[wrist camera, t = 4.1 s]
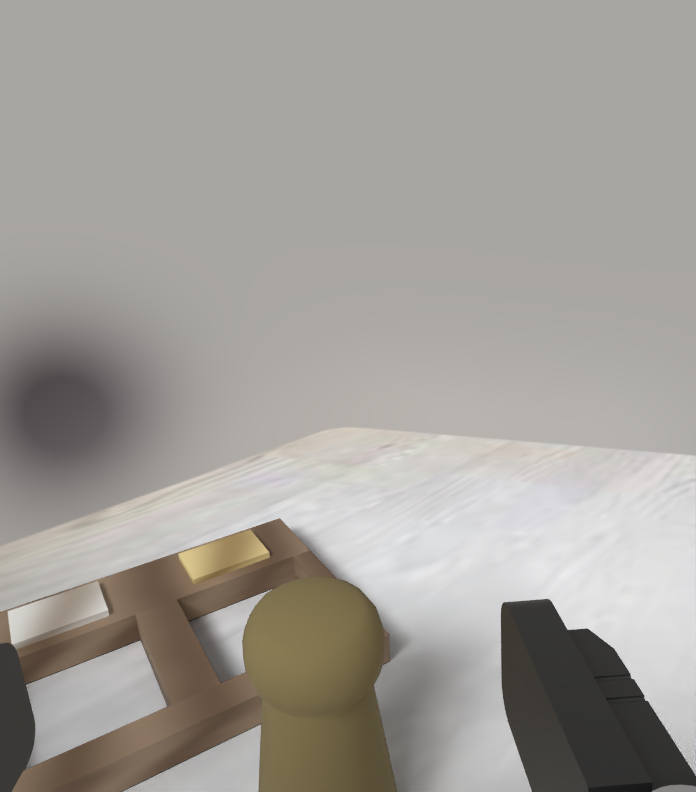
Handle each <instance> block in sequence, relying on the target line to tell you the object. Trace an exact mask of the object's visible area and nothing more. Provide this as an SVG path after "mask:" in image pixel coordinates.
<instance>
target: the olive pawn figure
mask: <svg viewBox="0 0 696 792" xmlns="http://www.w3.org/2000/svg"><path fill="white" fill-rule="evenodd" d="M242 642H243V658H244V665H245V671H246V673H247V675H248V677H249V678H250V680H251V682H252V684H253V686H254V688H255V690H256V692H257V693H258V695H259V697H261V698H262V717H261V743H260V768H259V792H397V790H396V785H395V781H394V776H393V772H392V767H391V762H390V758H389V753H388V749H387V744H386V739H385V735H384V730H383V725H382V721H381V716H380V712H379V707H378V702H377V698H376V693H375V688H374V683H375V682H376V680H377V678H378V676H379V674H380V671H381V668H382V664H383V659H384V649H385V632H384V629H383V626H382V623H381V620H380V618H379V615H378V612H377V609H376V607H375V605H374V604H373V603H372V602H371V601H370V600H369V599H368V598H367V597H366V595H365V594H364V593H363V592H362V591H361V590H360V589H359V588H357V587H355V586H354V585H352V584H350V583H348V582H346V581H343V580H339V579H335V578H331V577H308V578H301V579H295V580H293V581H290V582H287V583H285V584H282V585H279V586H278V587H276V588H275V589H273V590H271V591H270V592H268V593H267V594H265V596H264V597H263V598H262V599H261V600H260V601H259V602H258V603H257V605H256V606H255V607H254V609H253V611H252V612H251V614H250V616H249V619H248V621H247V624H246V626H245V629H244V635H243V641H242Z"/></svg>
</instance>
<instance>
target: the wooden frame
mask: <svg viewBox="0 0 696 792" xmlns="http://www.w3.org/2000/svg"><path fill="white" fill-rule="evenodd" d="M308 577H331V578H335V577H334V575H333V574H332V573H331V572H330V571H329V570H328V569H327V568H326V567H325V566H324V565H323V564H322V563H321V562H320V561H319V560H318V558H317V557H316V556H315V555H314V554H313V553H312V552H311V551H310V550H309V549H308V548H307V547H306V546H305V545H304V544H303V542H302V541H301V540H300V539H299V538H298V537H297V536H296V535H295V534H294V533H293V532H292V531H291V530H290V529H289V528H288V527H287V525H286V524H285V523H284V522H283V521H282V520H281V519H280V518H279V519H276V520H273V521H271V522H268V523H265V524H262V525H259V526H256V527H253V528H250V529H247V530H244V531H241V532H238V533H235V534H232V535H229V536H226V537H223V538H220V539H217V540H214V541H211V542H208V543H205V544H202V545H199V546H196V547H193V548H190V549H187V550H184V551H181V552H178V553H175V554H172V555H169V556H166V557H163V558H160V559H157V560H154V561H151V562H149V563H146V564H143V565H140V566H137V567H134V568H131V569H128V570H125V571H122V572H119V573H116V574H113V575H110V576H107V577H104V578H101V579H98V580H95V581H92V582H89V583H86V584H83V585H80V586H77V587H74V588H71V589H68V590H65V591H62V592H59V593H56V594H53V595H50V596H47V597H44V598H41V599H38V600H35V601H32V602H29V603H26V604H24V605H21V606H18V607H15V608H12V609H9V610H6V611H3V612H0V643H11V644H12V645H13V646H14V647H15V649H16V651H17V653H18V656H19V660H20V664H21V668H22V672H23V676H24V680H25V684H28V683H30V682H33V681H36V680H38V679H41V678H43V677H46V676H48V675H51V674H54V673H56V672H59V671H61V670H64V669H66V668H69V667H72V666H74V665H77V664H79V663H82V662H85V661H87V660H90V659H92V658H95V657H97V656H100V655H103V654H105V653H108V652H110V651H113V650H115V649H118V648H121V647H123V646H126V645H128V644H131V643H133V642H136V641H139V640H141V642H142V644H143V647H144V649H145V652H146V654H147V657H148V659H149V662H150V664H151V667H152V669H153V672H154V674H155V677H156V679H157V682H158V684H159V687H160V689H161V692H162V694H163V697H164V699H165V702H166V704H167V707H166V708H164V709H162V710H159V711H157V712H155V713H153V714H150V715H148V716H146V717H143V718H141V719H139V720H137V721H134V722H132V723H130V724H128V725H125V726H123V727H121V728H119V729H116V730H114V731H112V732H110V733H107V734H105V735H103V736H101V737H98V738H96V739H94V740H92V741H89V742H87V743H85V744H82V745H80V746H78V747H76V748H73V749H71V750H69V751H67V752H64V753H62V754H60V755H58V756H55V757H53V758H51V759H49V760H46V761H44V762H42V763H40V764H37V765H35V766H33V767H31V768H28V769H26V770H24V771H23V772H22V774H21V776H20V778H19V779H18V781H17V783H16V785H15V787H14V788H13V790H12V792H121V791H124V790H126V789H128V788H130V787H132V786H134V785H136V784H138V783H140V782H142V781H144V780H146V779H148V778H150V777H152V776H154V775H156V774H158V773H161V772H163V771H165V770H167V769H169V768H171V767H173V766H175V765H177V764H179V763H181V762H183V761H185V760H187V759H189V758H191V757H193V756H195V755H198V754H200V753H202V752H204V751H206V750H208V749H210V748H212V747H214V746H216V745H218V744H220V743H222V742H224V741H226V740H228V739H230V738H232V737H234V736H237V735H239V734H241V733H243V732H245V731H247V730H249V729H251V728H253V727H255V726H257V725H259V724H261V717H262V698H261V697H259V695H258V693H257V692H256V690H255V688H254V686H253V684H252V682H251V680H250V678H249V677H248V675H247V673H246V672H245V673H243V674H241V675H238V676H236V677H234V678H232V679H229V680H227V681H225V682H223V683H220V681H219V679H218V677H217V675H216V673H215V672H214V670H213V668H212V666H211V664H210V662H209V660H208V658H207V656H206V654H205V652H204V651H203V649H202V647H201V645H200V643H199V641H198V639H197V637H196V635H195V633H194V631H193V630H192V628H191V626H190V624H189V622H188V621H190V620H193V619H195V618H198V617H201V616H203V615H206V614H208V613H211V612H213V611H216V610H219V609H221V608H224V607H226V606H229V605H231V604H234V603H237V602H239V601H242V600H244V599H247V598H250V597H252V596H255V595H257V594H260V593H262V592H265V591H268V590H270V589H273V588H275V587H278V586H279V585H282V584H285V583H287V582H290V581H293V580H295V579H301V578H308ZM335 579H336V578H335ZM384 632H385V649H384V659H383V664H384V663H387V662H389V661H390V653H389V634H388V633H387V632H386V631H385V630H384Z"/></svg>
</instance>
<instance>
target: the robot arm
mask: <svg viewBox="0 0 696 792" xmlns="http://www.w3.org/2000/svg"><path fill="white" fill-rule="evenodd" d="M501 664H502V691H503V699H504V705H505V710H506V715H507V719H508V722H509V725H510V728H511V731H512V734H513V737H514V740H515V743H516V746H517V749H518V752H519V755H520V757H521V760H522V763H523V766H524V769H525V772H526V775H527V778H528V781H529V784H530V787H531V790H532V792H696V776H695V774H694V772H693V771H692V769H691V768H690V766H689V765H688V763H687V762H686V760H685V758H684V757H683V755H682V754H681V752H680V751H679V749H678V748H677V746H676V744H675V743H674V741H673V740H672V738H671V737H670V735H669V734H668V732H667V730H666V729H665V727H664V726H663V724H662V723H661V721H660V720H659V718H658V716H657V715H656V713H655V712H654V710H653V709H652V707H651V706H650V704H649V702H648V701H645V699H644V695H643V693H642V691H641V690H640V688H639V687H638V685H637V684H636V682H635V681H634V679H631V676H630V673H629V671H628V670H627V668H626V667H625V665H624V663H623V662H622V660H621V659H620V657H619V656H618V654H617V653H616V651H615V649H614V648H612V647H611V646H610V645H608V644H607V643H606V642H604V641H603V640H602V639H600V638H599V637H598V636H597V635H595V634H594V633H593V632H591V631H590V630H589V629H577V630H567V628H566V627H565V625H564V623H563V621H562V620H561V618H560V616H559V614H558V612H557V611H556V609H555V607H554V605H553V604H552V602H551V601H550V600H549V599H543V600H530V601H517V602H504V603H503V604H502V608H501ZM34 738H35V721H34V716H33V712H32V708H31V704H30V700H29V696H28V692H27V688H26V684H25V680H24V676H23V672H22V668H21V664H20V660H19V656H18V653H17V651H16V649H15V647H14V646H13V645H12V644H11V643H0V792H12V790H13V788H14V787H15V785H16V783H17V781H18V779H19V778H20V776H21V774H22V772H23V770H24V769H25V767H26V765H27V763H28V761H29V758H30V756H31V753H32V749H33V745H34Z"/></svg>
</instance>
